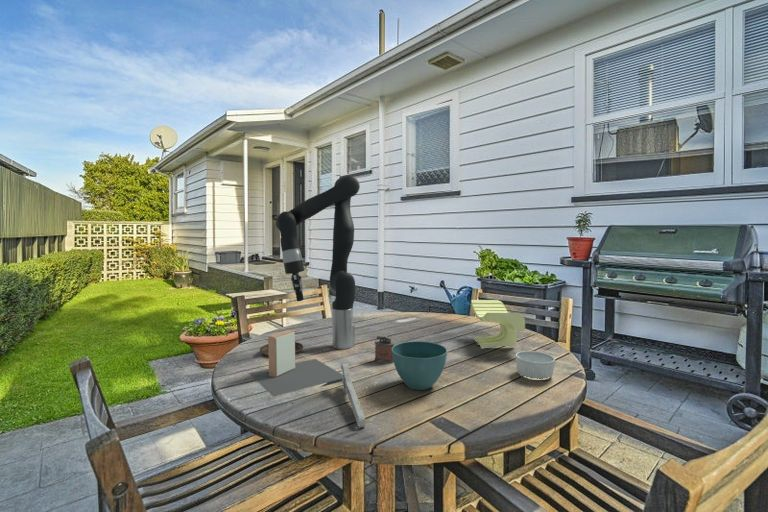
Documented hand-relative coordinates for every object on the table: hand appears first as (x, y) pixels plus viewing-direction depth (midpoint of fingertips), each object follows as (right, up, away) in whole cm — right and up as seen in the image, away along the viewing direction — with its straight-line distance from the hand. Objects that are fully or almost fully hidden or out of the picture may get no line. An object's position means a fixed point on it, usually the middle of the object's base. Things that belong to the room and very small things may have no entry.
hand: (300, 300), depth 155 cm
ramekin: (+87, -25, -18) cm, 92 cm away
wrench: (+24, -26, -41) cm, 54 cm away
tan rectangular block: (-3, -23, -18) cm, 29 cm away
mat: (+3, -25, -20) cm, 32 cm away
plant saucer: (-9, -24, +6) cm, 26 cm away
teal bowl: (+45, -25, -27) cm, 58 cm away
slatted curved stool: (+84, -23, +20) cm, 89 cm away
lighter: (+34, -24, -3) cm, 41 cm away
